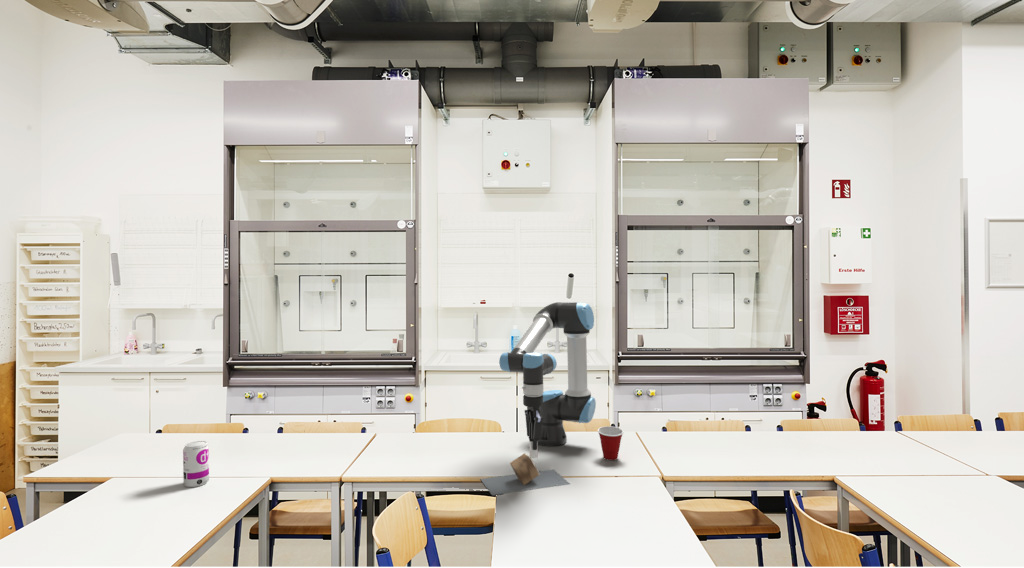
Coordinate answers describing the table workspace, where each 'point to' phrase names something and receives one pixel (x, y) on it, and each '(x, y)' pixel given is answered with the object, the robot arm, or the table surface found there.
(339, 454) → the table surface
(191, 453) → the supplement can
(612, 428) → the plastic cup
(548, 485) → the rubber mat
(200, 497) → the table surface
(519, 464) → the light wooden block
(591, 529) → the table surface
